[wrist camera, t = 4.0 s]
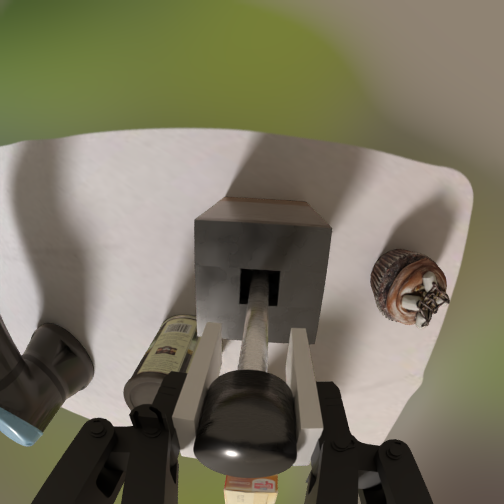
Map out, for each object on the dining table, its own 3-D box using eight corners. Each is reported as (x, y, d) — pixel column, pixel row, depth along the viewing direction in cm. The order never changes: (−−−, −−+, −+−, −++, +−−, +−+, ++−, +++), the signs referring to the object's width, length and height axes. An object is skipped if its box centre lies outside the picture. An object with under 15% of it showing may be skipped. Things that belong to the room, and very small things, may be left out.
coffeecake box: (236, 391, 44) (222, 489, 26) (279, 393, 44) (280, 492, 25) (236, 439, 49) (226, 520, 30) (271, 441, 48) (270, 522, 30)
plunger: (224, 293, 29) (164, 480, 9) (225, 224, 27) (126, 375, 7) (294, 297, 28) (321, 492, 9) (301, 229, 26) (373, 393, 7)
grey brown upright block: (222, 273, 38) (197, 336, 24) (224, 196, 35) (194, 219, 21) (298, 277, 38) (314, 344, 23) (306, 201, 35) (332, 228, 20)
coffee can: (184, 375, 44) (160, 438, 30) (146, 328, 42) (107, 387, 28) (236, 355, 42) (224, 425, 28) (198, 303, 40) (168, 366, 26)
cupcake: (390, 229, 35) (426, 251, 25) (434, 263, 36) (471, 291, 26) (351, 287, 38) (373, 325, 28) (397, 315, 39) (425, 353, 29)
